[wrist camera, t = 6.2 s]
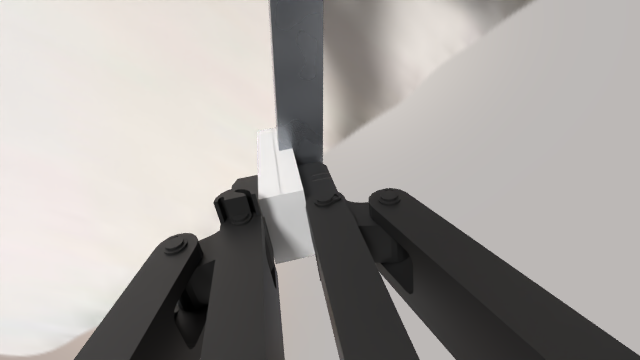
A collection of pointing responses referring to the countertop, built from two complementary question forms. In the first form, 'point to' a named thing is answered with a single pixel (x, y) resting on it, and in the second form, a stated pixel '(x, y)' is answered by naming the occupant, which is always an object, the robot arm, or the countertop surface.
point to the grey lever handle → (298, 76)
